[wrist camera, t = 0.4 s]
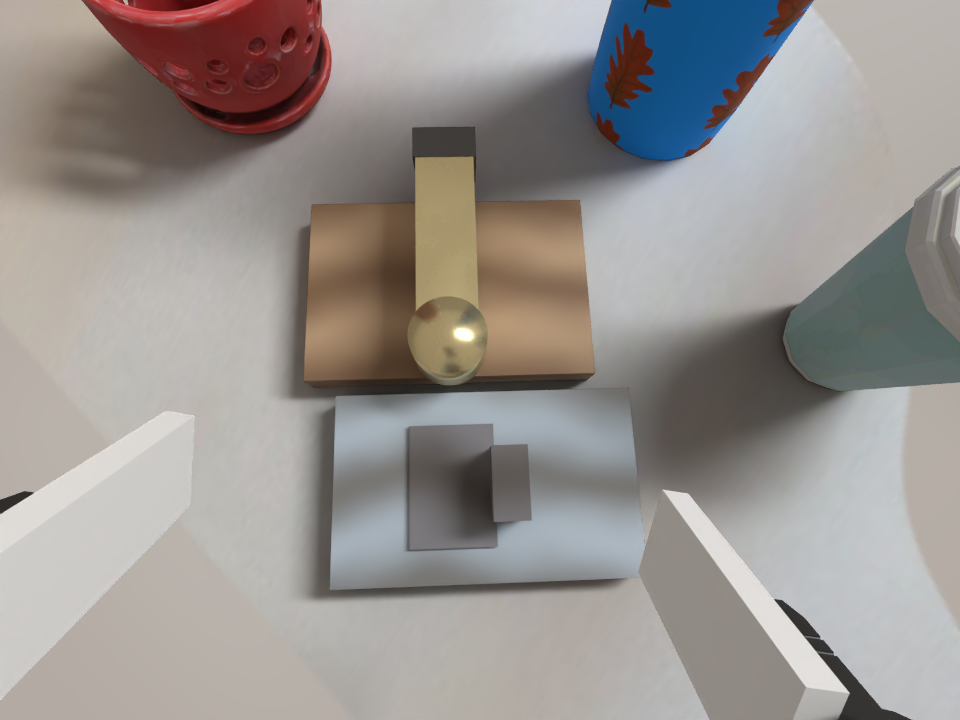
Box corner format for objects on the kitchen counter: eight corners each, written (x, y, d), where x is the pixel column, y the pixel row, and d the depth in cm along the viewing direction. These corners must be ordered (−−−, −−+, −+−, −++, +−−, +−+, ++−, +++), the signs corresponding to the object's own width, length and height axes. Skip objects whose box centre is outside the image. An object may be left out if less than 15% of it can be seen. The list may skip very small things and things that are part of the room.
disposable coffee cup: (724, 303, 36) (895, 179, 22) (854, 248, 38) (1098, 95, 23) (805, 446, 34) (1056, 413, 20) (940, 382, 35) (1271, 306, 21)
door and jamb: (636, 572, 32) (667, 586, 27) (304, 585, 31) (274, 602, 27) (601, 214, 38) (621, 173, 33) (319, 219, 37) (297, 178, 32)
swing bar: (486, 384, 32) (489, 372, 28) (413, 386, 32) (407, 374, 28) (478, 159, 35) (479, 125, 32) (412, 160, 35) (407, 126, 32)
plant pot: (141, 58, 40) (7, -119, 28) (296, -14, 42) (230, -207, 30) (217, 189, 38) (105, 54, 26) (378, 106, 40) (341, -53, 28)
